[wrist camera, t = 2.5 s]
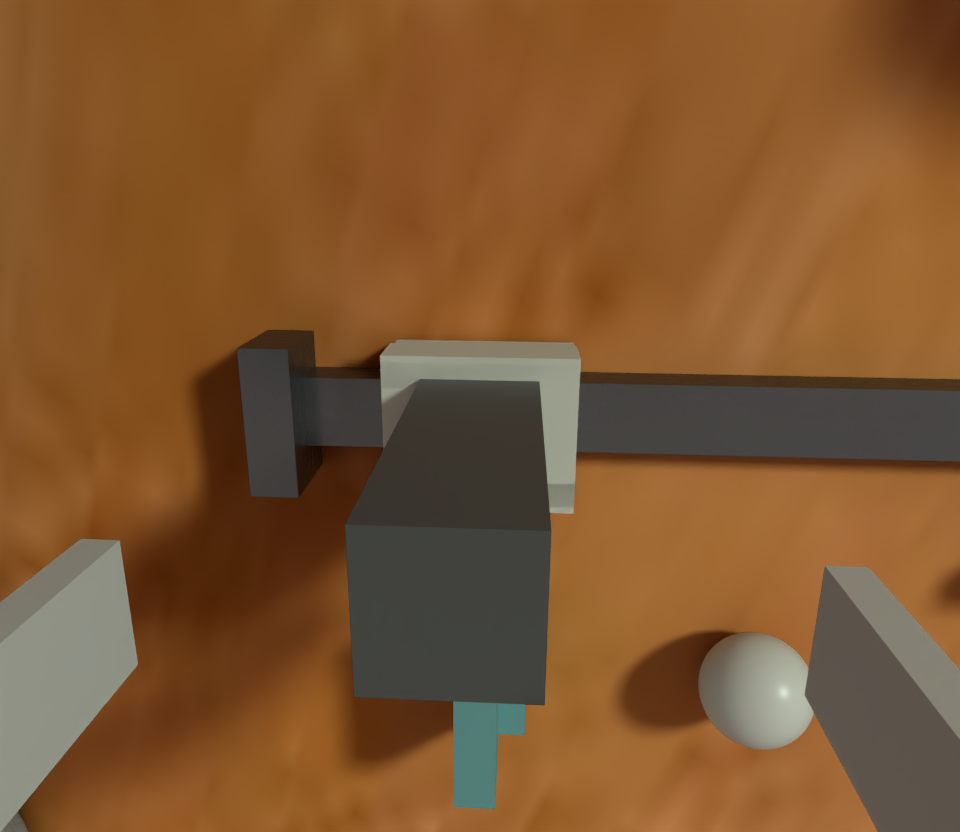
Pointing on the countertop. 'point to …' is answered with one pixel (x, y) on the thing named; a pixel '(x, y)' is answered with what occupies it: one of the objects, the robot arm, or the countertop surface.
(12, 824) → the planter
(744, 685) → the ball
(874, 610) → the robot arm
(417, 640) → the carriage
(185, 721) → the countertop surface
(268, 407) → the rail
